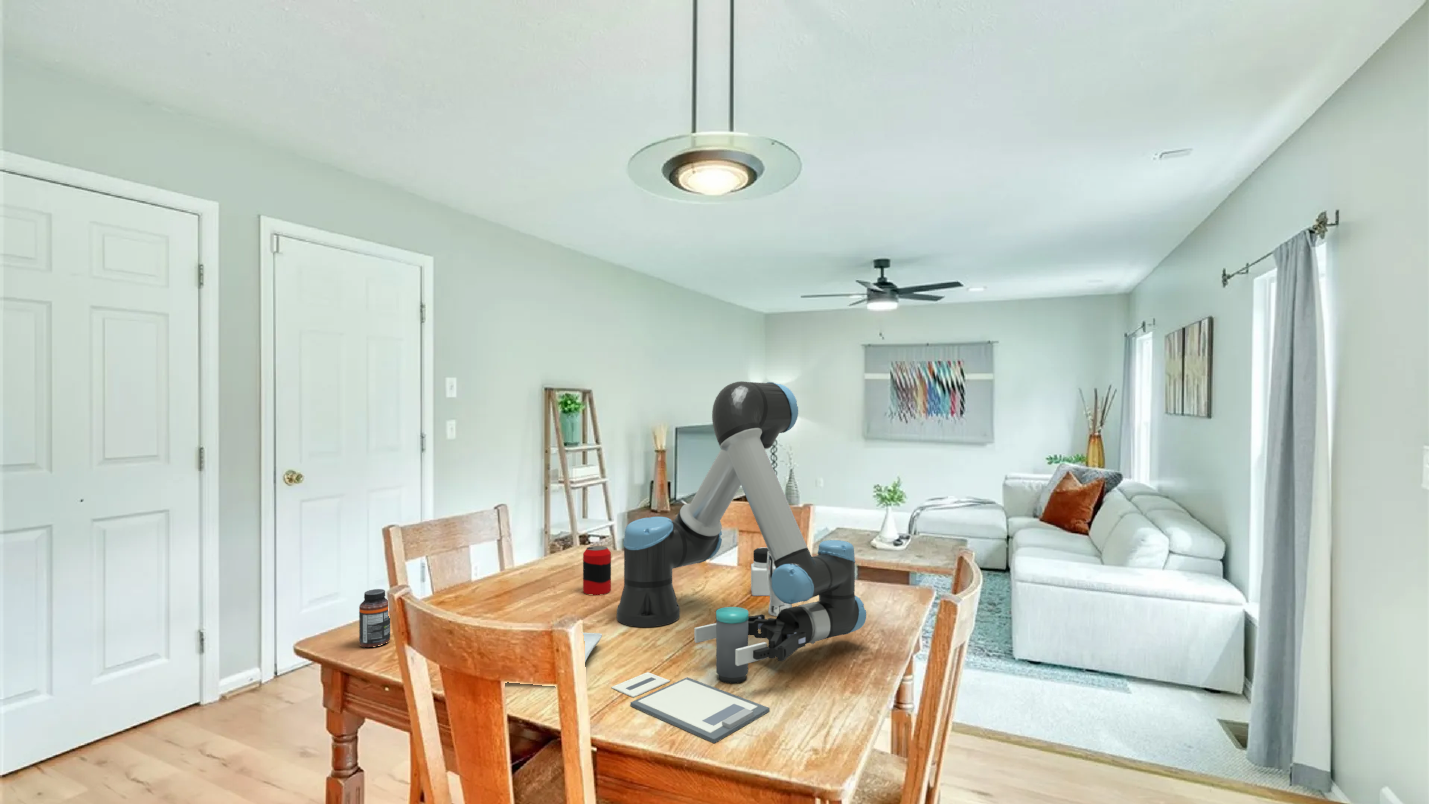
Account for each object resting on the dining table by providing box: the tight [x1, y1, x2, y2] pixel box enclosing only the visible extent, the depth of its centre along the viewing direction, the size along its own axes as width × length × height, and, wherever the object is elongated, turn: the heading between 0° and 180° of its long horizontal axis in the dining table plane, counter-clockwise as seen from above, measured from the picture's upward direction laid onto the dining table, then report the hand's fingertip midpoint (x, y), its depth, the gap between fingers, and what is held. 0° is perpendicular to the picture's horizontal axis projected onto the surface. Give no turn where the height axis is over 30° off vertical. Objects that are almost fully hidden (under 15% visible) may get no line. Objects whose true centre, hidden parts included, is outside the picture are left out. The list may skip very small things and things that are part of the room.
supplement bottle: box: [358, 588, 391, 648], centre depth 142 cm, size 6×6×11 cm
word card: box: [611, 671, 671, 698], centre depth 121 cm, size 6×9×1 cm, turn 139°
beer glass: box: [767, 551, 793, 617], centre depth 164 cm, size 7×7×15 cm
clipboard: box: [629, 676, 770, 744], centre depth 112 cm, size 19×14×1 cm
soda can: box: [582, 545, 612, 596], centre depth 182 cm, size 8×8×12 cm
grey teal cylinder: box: [715, 606, 749, 685], centre depth 125 cm, size 6×6×12 cm
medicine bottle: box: [750, 546, 770, 597], centre depth 182 cm, size 7×7×12 cm
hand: (714, 646), depth 122 cm, fingers open, 13 cm apart
